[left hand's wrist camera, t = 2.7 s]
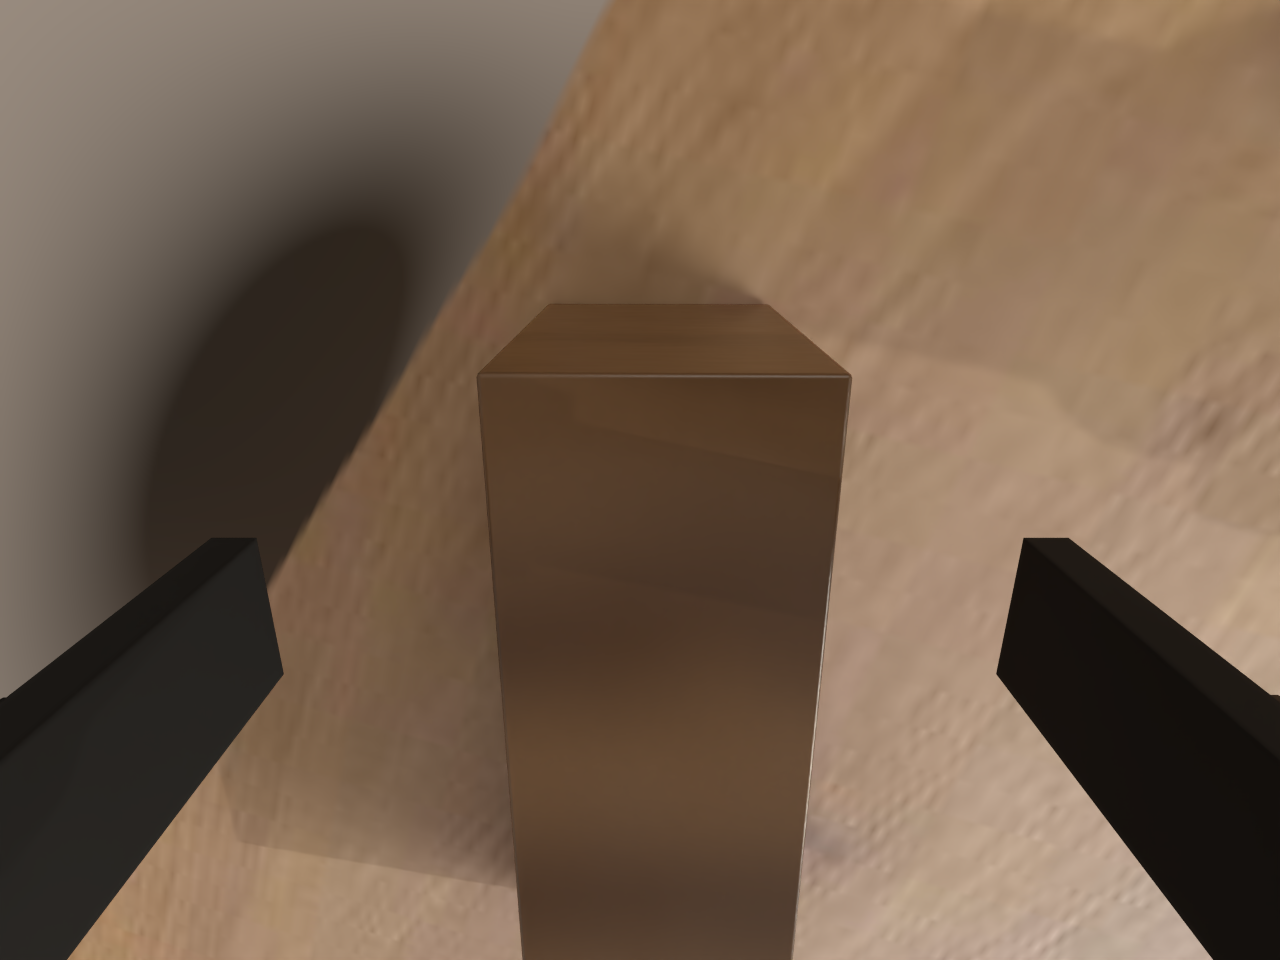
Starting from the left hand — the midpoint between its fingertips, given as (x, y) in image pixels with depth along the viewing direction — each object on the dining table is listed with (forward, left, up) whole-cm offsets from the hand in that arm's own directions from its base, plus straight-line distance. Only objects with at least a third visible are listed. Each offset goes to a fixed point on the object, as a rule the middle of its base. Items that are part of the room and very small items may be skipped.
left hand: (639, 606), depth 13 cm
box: (+5, +6, -10) cm, 12 cm away
